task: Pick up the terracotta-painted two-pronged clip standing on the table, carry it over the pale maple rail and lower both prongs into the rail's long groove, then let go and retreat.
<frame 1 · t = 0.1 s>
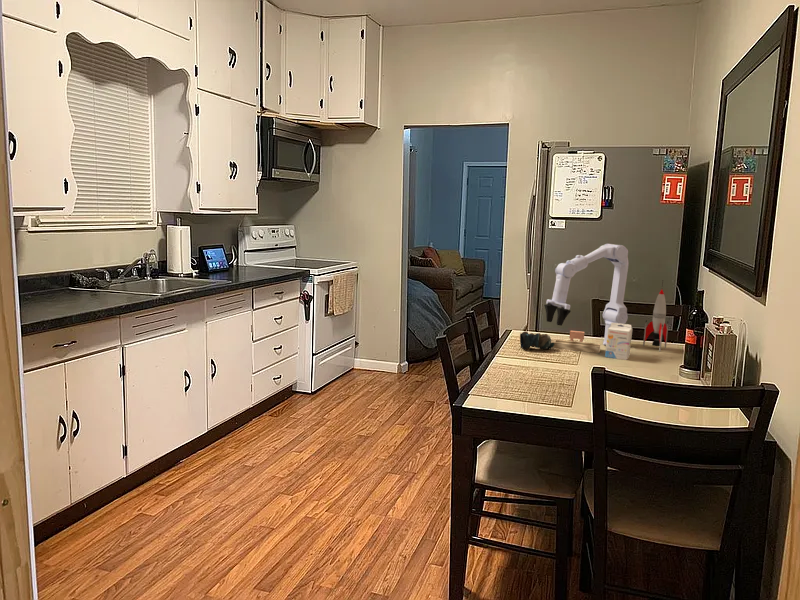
hand: (554, 323, 257), 11 cm above the table, fingers open, 7 cm apart
ink box: (617, 357, 247), on the table
rail: (574, 348, 258), on the table
figurine: (536, 350, 255), on the table
clip: (576, 343, 267), on the table
toy: (656, 349, 262), on the table
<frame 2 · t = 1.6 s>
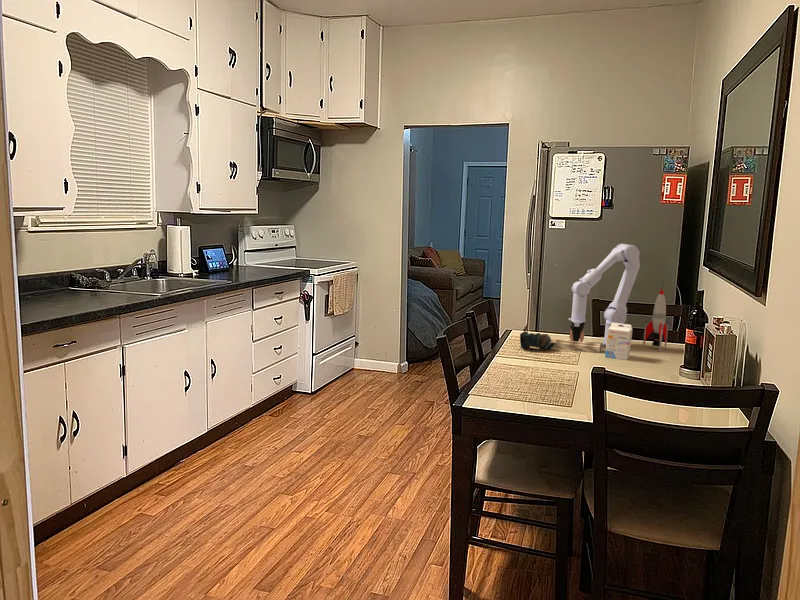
hand: (576, 339, 267), 2 cm above the table, fingers open, 7 cm apart
nothing on the table moved.
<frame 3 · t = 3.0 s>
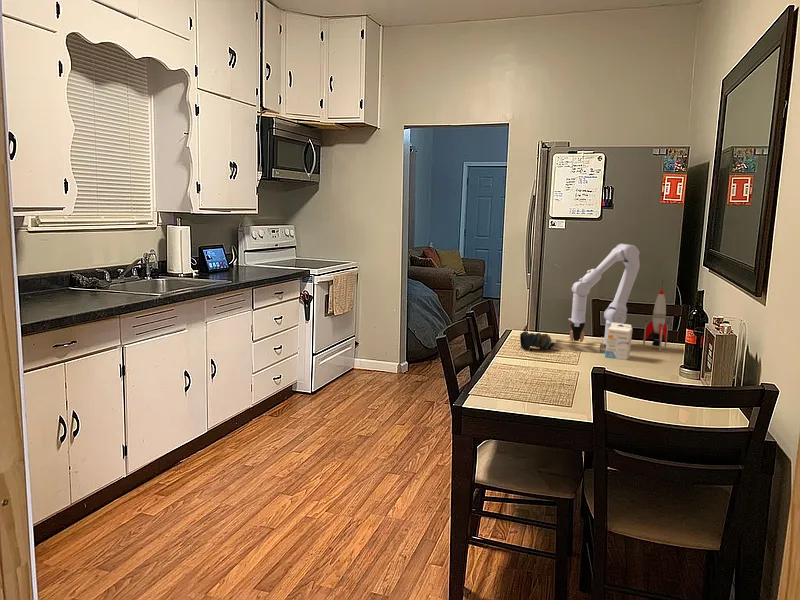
hand: (576, 340, 267), 2 cm above the table, fingers closed on clip, 2 cm apart
clip: (576, 343, 267), on the table, touching gripper
everything else where it was.
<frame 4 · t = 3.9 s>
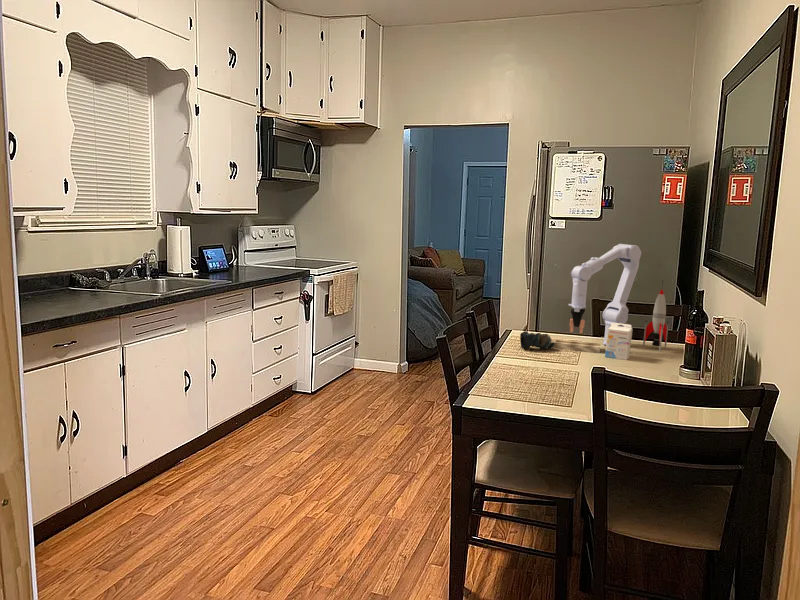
hand: (576, 326, 260), 9 cm above the table, fingers closed on clip
clip: (576, 332, 261), point 6 cm above the table, touching gripper
everything else where it was.
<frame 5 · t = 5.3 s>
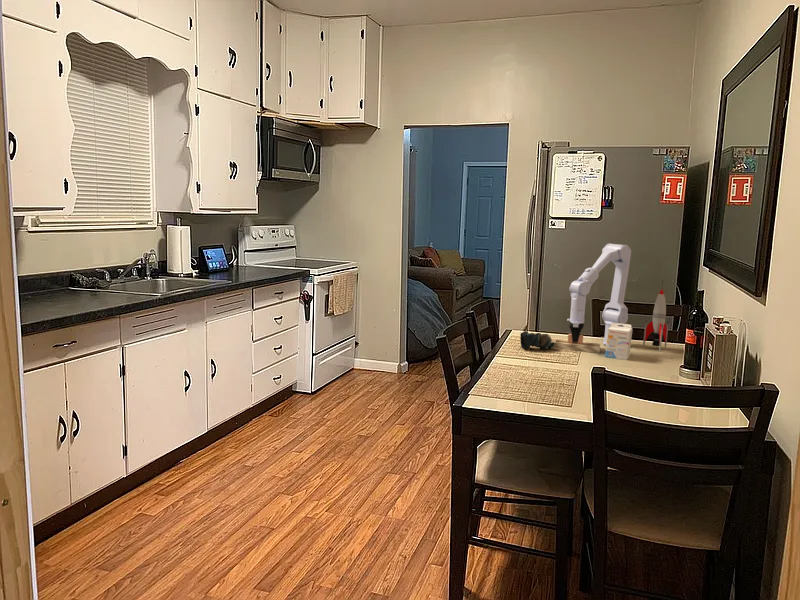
hand: (575, 341, 257), 3 cm above the table, fingers closed on clip, 2 cm apart
clip: (574, 347, 258), resting on rail, touching gripper
everything else where it was.
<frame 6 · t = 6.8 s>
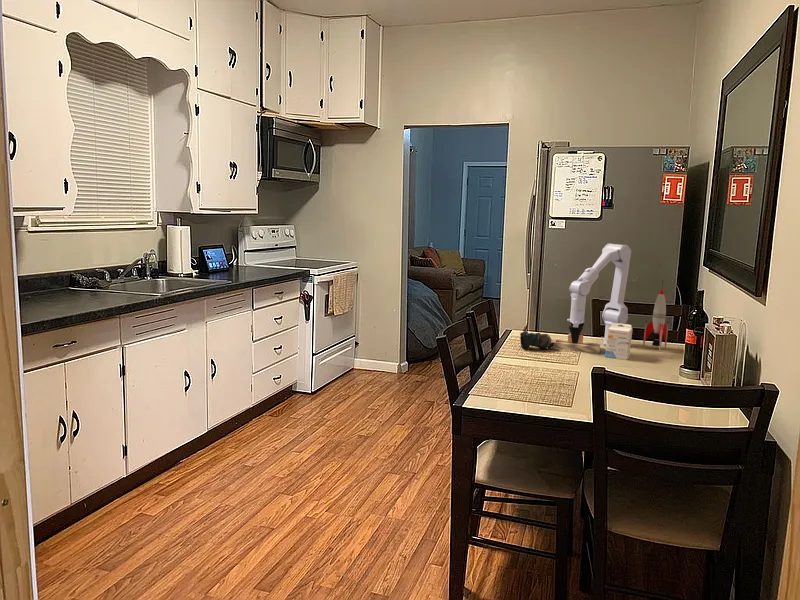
hand: (575, 341, 257), 3 cm above the table, fingers open, 7 cm apart
figurine: (536, 349, 255), on the table, touching rail
clip: (574, 347, 258), resting on rail
everything else where it was.
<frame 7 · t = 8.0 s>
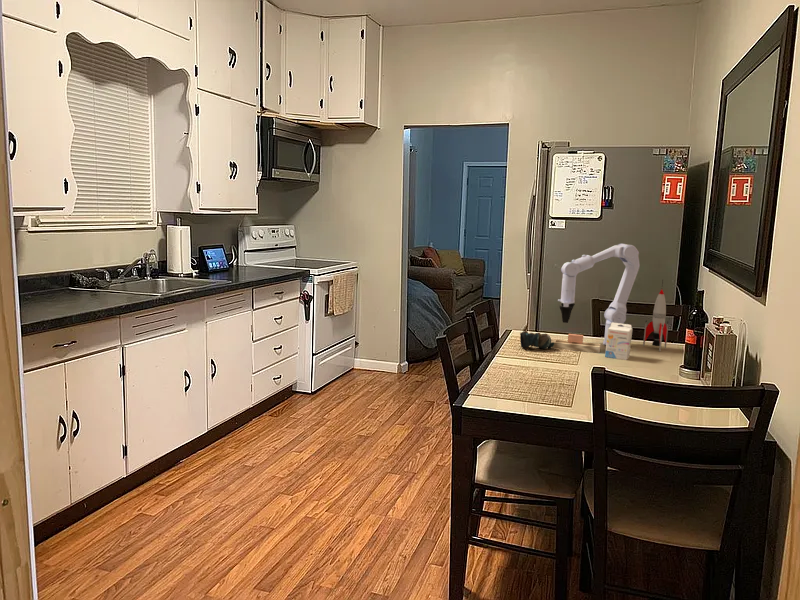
hand: (565, 321, 266), 10 cm above the table, fingers open, 7 cm apart
figurine: (535, 349, 256), on the table
everything else where it was.
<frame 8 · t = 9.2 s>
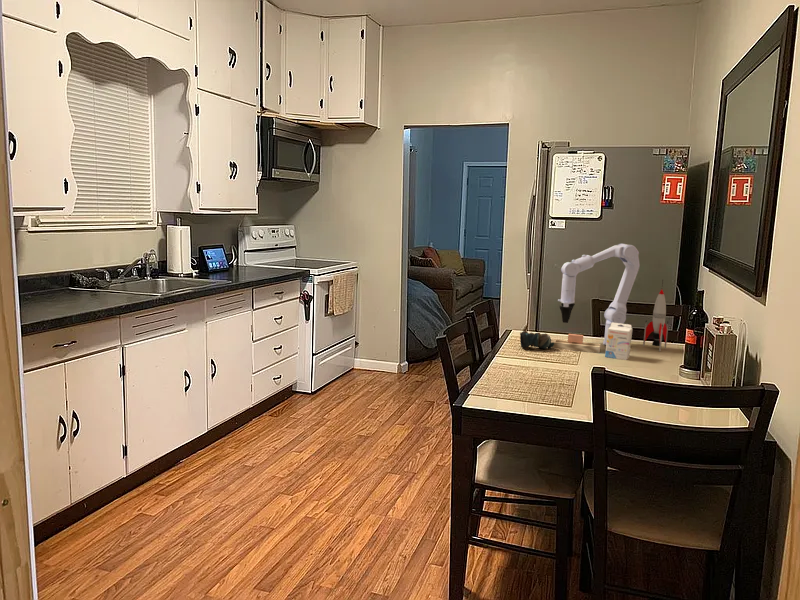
hand: (565, 321, 266), 10 cm above the table, fingers open, 7 cm apart
nothing on the table moved.
at the end: clip inside the target area on the rail (0.0 cm from its centre), point 0.5 cm above the rail's base; clip tilted 0°; the gripper is holding nothing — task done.
